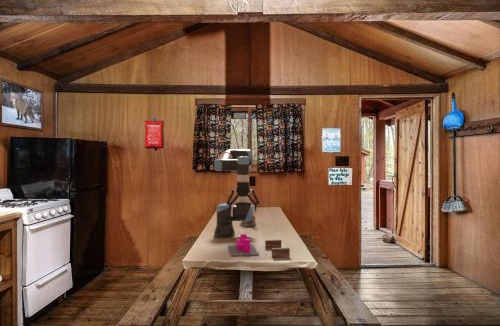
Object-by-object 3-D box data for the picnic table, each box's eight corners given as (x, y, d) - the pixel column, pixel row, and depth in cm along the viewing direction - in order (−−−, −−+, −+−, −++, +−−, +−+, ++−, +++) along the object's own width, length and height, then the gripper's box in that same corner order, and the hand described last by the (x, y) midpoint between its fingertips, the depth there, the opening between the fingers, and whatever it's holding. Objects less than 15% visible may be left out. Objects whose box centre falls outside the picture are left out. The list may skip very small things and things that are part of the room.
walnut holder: (265, 247, 207) (265, 240, 207) (280, 247, 208) (280, 239, 208) (272, 257, 186) (272, 249, 186) (289, 257, 187) (289, 248, 187)
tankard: (238, 223, 283) (238, 206, 283) (251, 222, 288) (251, 205, 288) (248, 228, 265) (248, 209, 265) (261, 227, 270) (262, 209, 270)
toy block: (236, 246, 207) (236, 234, 207) (246, 245, 209) (246, 234, 208) (239, 252, 193) (239, 240, 193) (250, 252, 194) (250, 239, 194)
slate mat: (228, 246, 210) (228, 245, 210) (252, 245, 212) (252, 244, 212) (231, 256, 188) (231, 255, 188) (258, 255, 190) (258, 254, 190)
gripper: (223, 182, 195) (223, 217, 196) (264, 181, 199) (263, 216, 200) (222, 181, 203) (222, 215, 203) (261, 180, 206) (261, 214, 207)
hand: (242, 215), depth 201 cm, fingers open, 13 cm apart
